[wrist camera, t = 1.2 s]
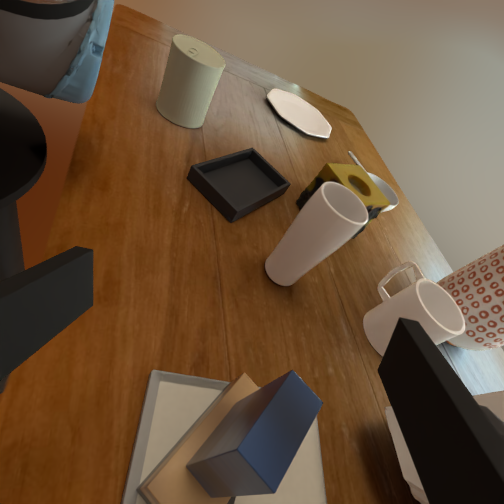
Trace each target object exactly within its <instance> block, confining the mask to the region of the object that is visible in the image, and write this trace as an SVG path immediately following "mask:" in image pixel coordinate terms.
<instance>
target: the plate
mask: <svg viewBox="0 0 504 504" xmlns="http://www.w3.org/2000/svg"><path fill="white" fill-rule="evenodd" d="M266 97H267V100H268V101H269V102H270V104H271V105H272V107H273V108H274V110H275V111H276V112H277V114H278V115H279V116H280V117H281V118H282V119H284V120H285V121H287V122H288V123H290V124H291V125H293V126H294V127H296V128H297V129H298V130H300V131H301V132H303V133H304V134H307V135H310V136H315V137H320V138H325V139H327V138H329V135H330V132H331V129H332V128H331V126H330V124H329V123H328V122H327V121H326V119H325V118H324V117H323V116H322V114H321V113H320V112H319V111H318V110H317V109H316V108H314V107H313V106H312V105H310V104H309V103H307V102H306V101H304V100H303V99H301V98H300V97H299V96H297V95H295V94H293V93H290V92H286V91H283V90H280V89H276V88H273V89H272V90H271V91H270V92H269V93H268V94H267V96H266Z"/></svg>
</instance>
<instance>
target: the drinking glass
mask: <svg viewBox="0 0 504 504" xmlns="http://www.w3.org/2000/svg"><path fill="white" fill-rule="evenodd" d="M367 221H368V211H367V209H366V207H365V205H364V204H363V202H362V201H361V200H360V199H359V197H358V196H357V195H356V194H354V193H353V192H352V191H351V190H349V189H348V188H346V187H345V186H343V185H341V184H339V183H336V182H325V183H323V184H322V185H321V186H320V188H319V189H318V190H317V191H316V192H315V193H314V194H313V195H312V196H311V198H310V199H309V200H308V201H307V202H306V204H305V205H304V206H303V208H302V209H301V210H300V212H299V213H298V215H297V216H296V218H295V219H294V221H293V222H292V224H291V225H290V227H289V228H288V230H287V231H286V233H285V234H284V236H283V237H282V239H281V240H280V242H279V243H278V245H277V246H276V247H275V249H274V250H273V252H272V253H271V254H270V255H269V257H268V258H267V259H266V262H265V270H266V272H267V274H268V276H269V277H270V279H271V280H272V281H274V282H275V283H277V284H279V285H282V286H290V285H292V284H294V283H295V282H296V281H297V280H298V279H299V278H300V277H302V276H303V275H304V274H306V273H307V272H308V271H309V270H311V269H312V268H313V267H315V266H316V265H317V264H319V263H320V262H321V261H323V260H324V259H325V258H327V257H328V256H329V255H331V254H332V253H333V252H335V251H336V250H337V249H339V248H340V247H341V246H342V245H344V244H345V243H346V242H347V241H348V240H349V239H351V238H352V237H353V236H354V235H355V234H356V233H357V232H358V231H359V230H360V229H361V228H362V227H363V226H364V225H365V224H366V223H367Z"/></svg>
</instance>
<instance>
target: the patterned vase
mask: <svg viewBox="0 0 504 504" xmlns="http://www.w3.org/2000/svg"><path fill="white" fill-rule="evenodd" d="M437 284H438V285H440V286H441V287H442V288H443V289H444V290H445V291H446V292H447V293H448V294H449V295H450V296H451V297H452V298H453V300H454V301H455V302H456V304H457V305H458V307H459V309H460V310H461V312H462V315H463V317H464V320H465V331H464V332H463V333H462V334H460V335H458V336H456V337H453V338H451V339H449V340H446V342H447V343H449V344H451V345H453V346H458V347H460V348H463V349H467V350H473V351H485V350H490V349H494V348H498V347H500V346H503V345H504V245H502V246H500V247H498V248H497V249H495V250H493V251H491V252H490V253H487V254H486V255H484V256H482V257H480V258H478V259H477V260H475V261H473V262H471V263H469V264H468V265H466V266H464V267H462V268H461V269H459V270H457V271H455V272H453V273H451V274H450V275H448V276H446V277H444V278H443V279H441V280H440V281H439V282H437Z"/></svg>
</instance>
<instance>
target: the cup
mask: <svg viewBox="0 0 504 504" xmlns="http://www.w3.org/2000/svg"><path fill="white" fill-rule="evenodd" d="M410 267H413V269H414V273H415V277H416V282H414V283H413V284H411V285H410V286H408V287H406V288H405V289H403V290H402V291H400V292H398V293H397V294H395V295H394V296H392V297H390V296H389V294H388V293H387V292H386V290H385V289H384V288H383V286H384V285H385V284H386V283H387V282H388V281H389V280H390V279H391V278H392V277H393V276H394V275H395V274H396V273H399V272H401V271H403V270H406V269H408V268H410ZM377 290H378V292H379V294H380V296H381V298H382V300H383V303H381V304H379V305H378V306H376V307H375V308H373V309H372V310H370V311H368V312H367V313H366V314H365V316H364V319H363V327H364V331H365V334H366V336H367V338H368V340H369V342H370V344H371V345H372V346H373V348H374V349H375V350H376V351H377V352H378V353H379V354H380V355H381V356H384V353H385V351H386V348H387V346H388V343H389V341H390V339H391V336H392V334H393V331H394V329H395V326H396V324H397V321H398V319H399V317H402V318H406V319H411V320H415V321H418V322H419V323H420V324H421V326H422V327H423V329H424V330H425V331H426V333H427V334H428V335H429V337H430V338H431V340H432V341H433V342H434V344H435V345H437V344H439V343H442V342H444V341H446V340H449V339H451V338H453V337H456V336H458V335H460V334H462V333H463V332H464V331H465V320H464V317H463V315H462V312H461V310H460V309H459V307H458V305H457V304H456V302H455V301H454V300H453V298H452V297H451V296H450V295H449V294H448V293H447V292H446V291H445V290H444V289H443V288H442V287H441V286H440V285H438V284H437V283H435V282H433V281H431V280H429V279H426V278H425V277H424V275H423V273H422V272H421V270H420V268H419V267H418V265H417V264H416V263H414V262H412V261H408V262H406V263H404V264H402V265H400V266H398V267H396V268H394V269H392V270H391V271H390V272H389V273H388V274H387V275H386V276H385V277H384V278H383V279H382V280H381V281H380V282H379V285H378V289H377Z"/></svg>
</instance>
